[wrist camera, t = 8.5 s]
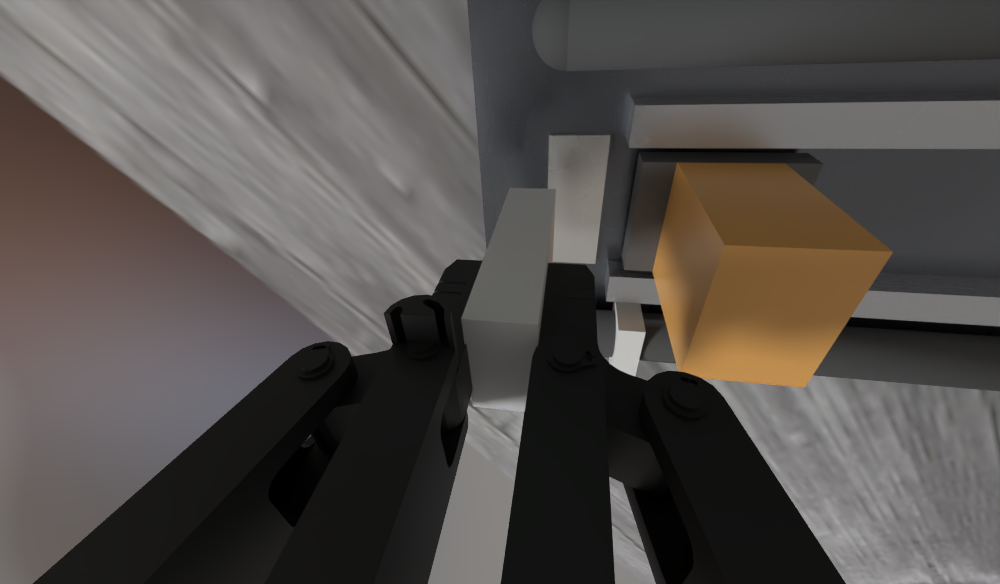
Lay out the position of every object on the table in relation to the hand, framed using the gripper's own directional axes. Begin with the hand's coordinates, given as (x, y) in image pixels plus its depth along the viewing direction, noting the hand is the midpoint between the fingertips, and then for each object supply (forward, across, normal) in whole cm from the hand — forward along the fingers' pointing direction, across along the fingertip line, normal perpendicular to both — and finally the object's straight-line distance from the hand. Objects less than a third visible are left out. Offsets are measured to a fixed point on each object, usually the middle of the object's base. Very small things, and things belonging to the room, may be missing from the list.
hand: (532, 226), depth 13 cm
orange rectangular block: (+2, +6, 0) cm, 6 cm away
